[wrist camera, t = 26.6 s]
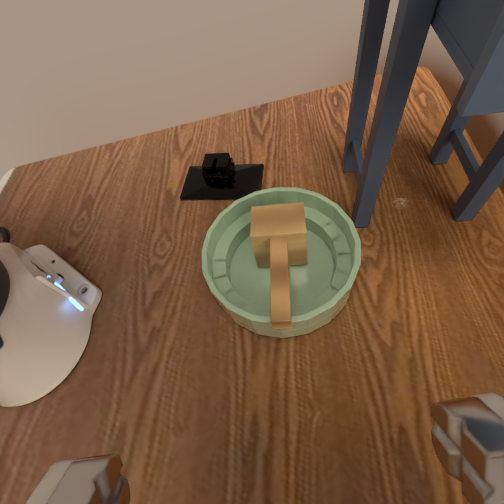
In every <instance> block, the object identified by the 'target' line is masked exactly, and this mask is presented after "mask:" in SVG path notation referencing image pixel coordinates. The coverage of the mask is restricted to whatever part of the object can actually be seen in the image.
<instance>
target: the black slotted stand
mask: <svg viewBox="0 0 504 504" xmlns="http://www.w3.org/2000/svg"><path fill="white" fill-rule="evenodd" d="M263 169H264V165H263V164H246V165H235V164H234V162H233V159H232V158H230V155H229V153H214V154H205V157H204V161H203V164H202V166H191V167H190V168H189V171H188V174H187V177H186V180H185V184H184V187H183V190H182V193H181V196H180V199H181V200H238V199H240V198H242V197H244V196H246V195H249V194H251V193H253V192H256V191H260V190H261V184H262V176H263Z"/></svg>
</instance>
